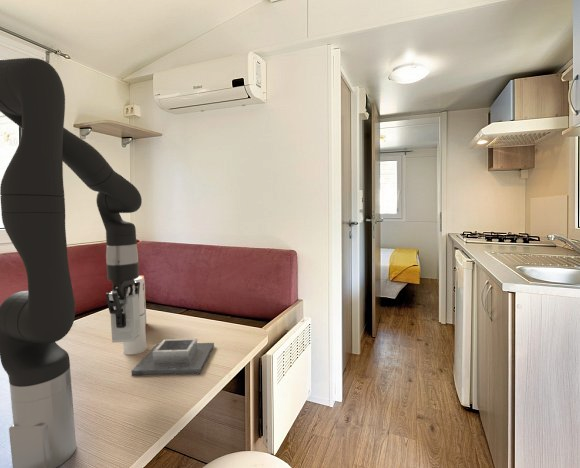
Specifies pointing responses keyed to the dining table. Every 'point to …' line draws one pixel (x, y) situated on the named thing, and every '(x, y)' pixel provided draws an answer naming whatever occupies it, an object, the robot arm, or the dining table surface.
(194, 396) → the dining table surface
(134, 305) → the skincare box
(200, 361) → the duct plate
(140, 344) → the cylindrical container
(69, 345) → the dining table surface
